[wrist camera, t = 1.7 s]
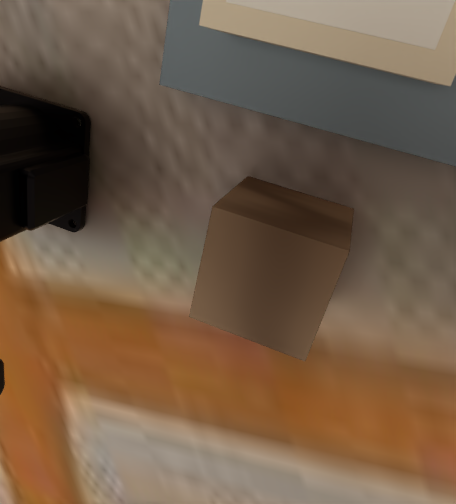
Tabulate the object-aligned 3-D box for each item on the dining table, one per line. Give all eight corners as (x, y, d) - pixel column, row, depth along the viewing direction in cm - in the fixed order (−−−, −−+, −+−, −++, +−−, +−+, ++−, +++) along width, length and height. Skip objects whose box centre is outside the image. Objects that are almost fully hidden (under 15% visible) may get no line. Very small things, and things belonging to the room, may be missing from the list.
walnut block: (225, 266, 21) (188, 316, 17) (248, 175, 19) (212, 206, 15) (318, 299, 20) (305, 361, 16) (353, 208, 18) (349, 251, 14)
